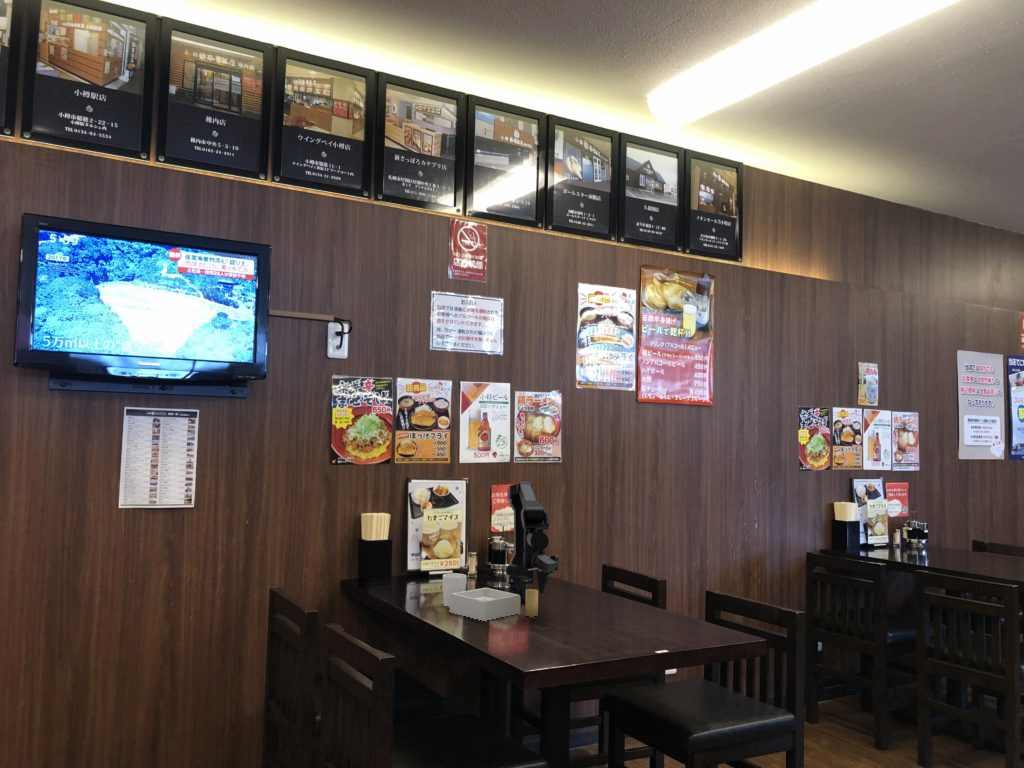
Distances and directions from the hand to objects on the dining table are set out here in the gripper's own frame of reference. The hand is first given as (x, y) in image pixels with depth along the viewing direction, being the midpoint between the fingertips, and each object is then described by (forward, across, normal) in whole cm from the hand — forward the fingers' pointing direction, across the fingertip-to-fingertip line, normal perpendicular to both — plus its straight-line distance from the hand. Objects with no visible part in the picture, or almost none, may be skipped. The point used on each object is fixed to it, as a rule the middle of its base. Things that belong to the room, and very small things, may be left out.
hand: (531, 595), depth 256 cm
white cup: (+7, -9, +27) cm, 29 cm away
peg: (+6, 0, 0) cm, 6 cm away
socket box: (+6, -9, +12) cm, 16 cm away
